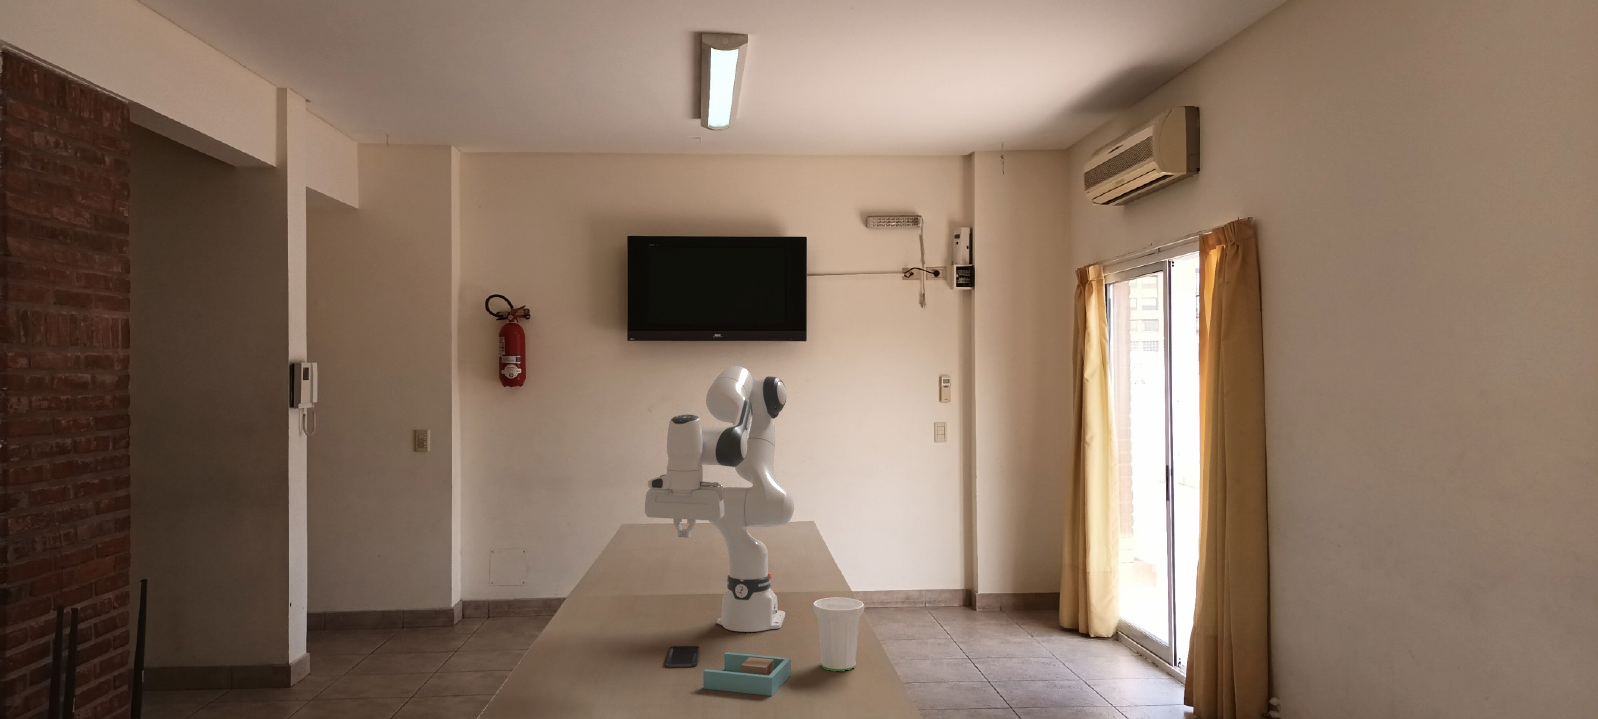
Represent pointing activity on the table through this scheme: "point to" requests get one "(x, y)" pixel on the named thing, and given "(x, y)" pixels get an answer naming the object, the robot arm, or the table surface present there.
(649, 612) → the table surface
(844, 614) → the cup
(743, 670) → the walnut block
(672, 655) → the phone
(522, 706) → the table surface
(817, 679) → the table surface
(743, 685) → the box
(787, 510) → the robot arm
